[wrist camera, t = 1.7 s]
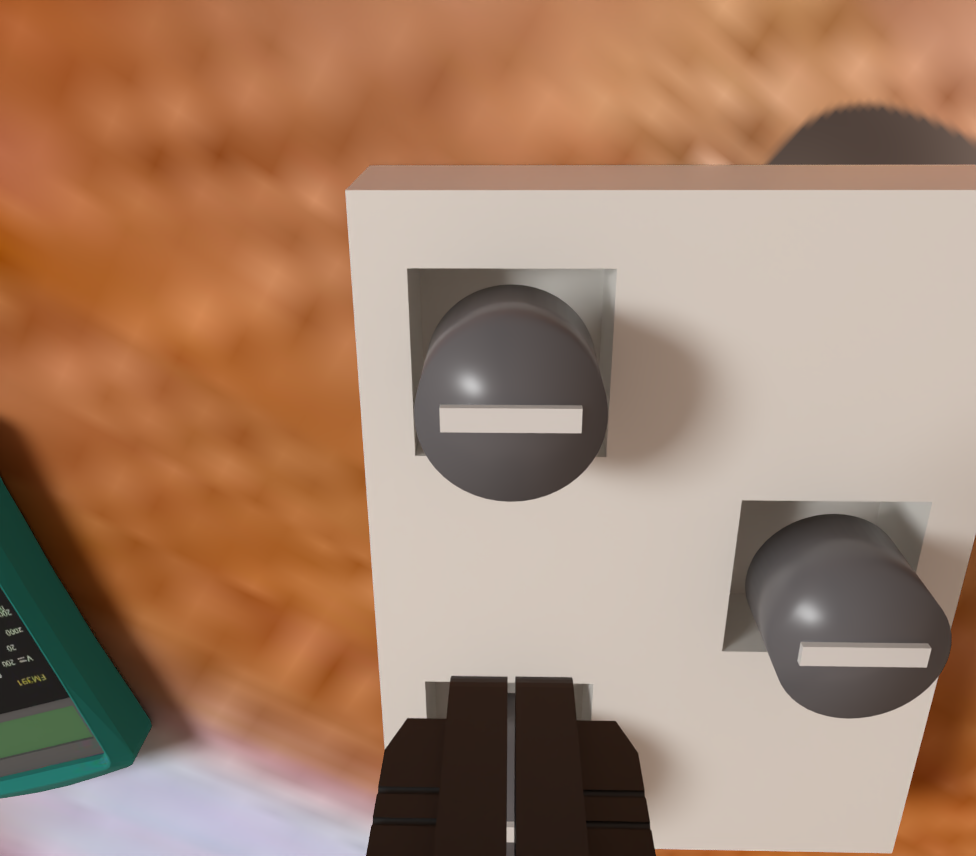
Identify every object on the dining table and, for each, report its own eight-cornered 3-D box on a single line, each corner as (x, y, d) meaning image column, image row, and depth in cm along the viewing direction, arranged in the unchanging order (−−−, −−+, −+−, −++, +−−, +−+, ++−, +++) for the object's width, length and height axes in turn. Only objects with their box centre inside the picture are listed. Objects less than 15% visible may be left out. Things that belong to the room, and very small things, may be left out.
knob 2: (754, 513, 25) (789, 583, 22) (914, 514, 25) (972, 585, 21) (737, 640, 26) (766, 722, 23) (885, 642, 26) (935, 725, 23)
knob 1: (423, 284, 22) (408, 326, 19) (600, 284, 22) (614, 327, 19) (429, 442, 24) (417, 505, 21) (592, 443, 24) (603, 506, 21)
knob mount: (369, 165, 25) (345, 190, 21) (984, 164, 24) (1065, 189, 21) (404, 755, 34) (391, 843, 30) (851, 763, 34) (892, 853, 30)
